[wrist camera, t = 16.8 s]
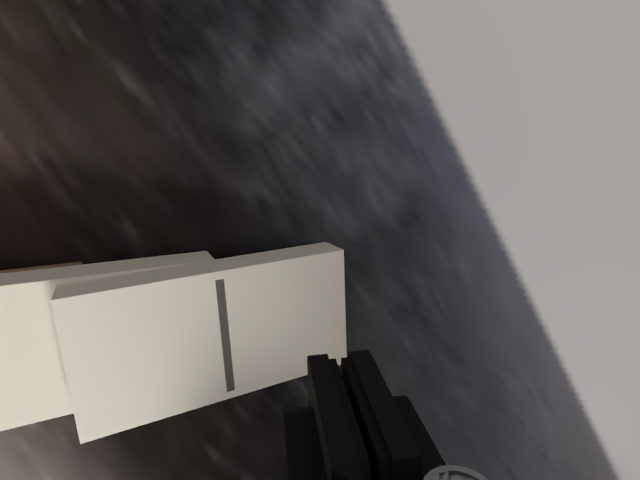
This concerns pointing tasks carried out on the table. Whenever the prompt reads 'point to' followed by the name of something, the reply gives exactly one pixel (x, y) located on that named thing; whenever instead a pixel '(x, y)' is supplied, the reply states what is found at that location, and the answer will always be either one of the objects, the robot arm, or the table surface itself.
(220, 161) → the table surface
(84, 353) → the domino
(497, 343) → the table surface
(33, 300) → the domino
